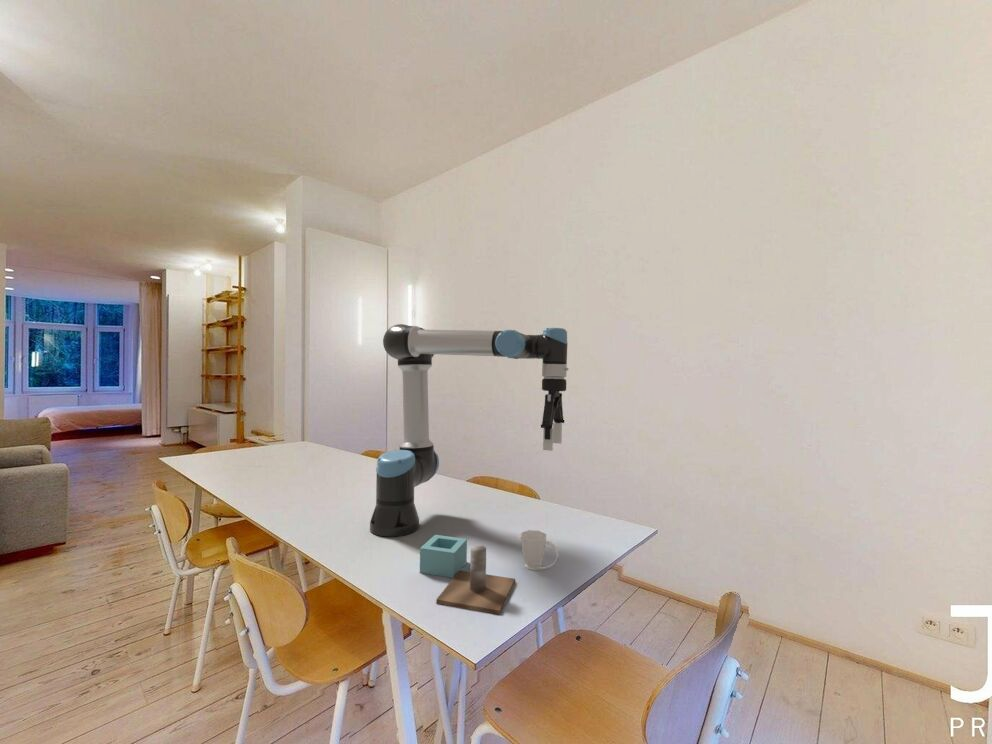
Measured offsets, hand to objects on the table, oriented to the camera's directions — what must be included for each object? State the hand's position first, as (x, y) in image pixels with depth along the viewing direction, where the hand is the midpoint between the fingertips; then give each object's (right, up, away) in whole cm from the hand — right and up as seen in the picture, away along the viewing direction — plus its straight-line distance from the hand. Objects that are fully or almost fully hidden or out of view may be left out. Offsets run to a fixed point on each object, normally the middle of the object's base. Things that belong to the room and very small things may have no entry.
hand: (552, 446), depth 131 cm
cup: (-7, -27, -24) cm, 36 cm away
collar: (-31, -26, -24) cm, 47 cm away
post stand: (-22, -26, -36) cm, 50 cm away
